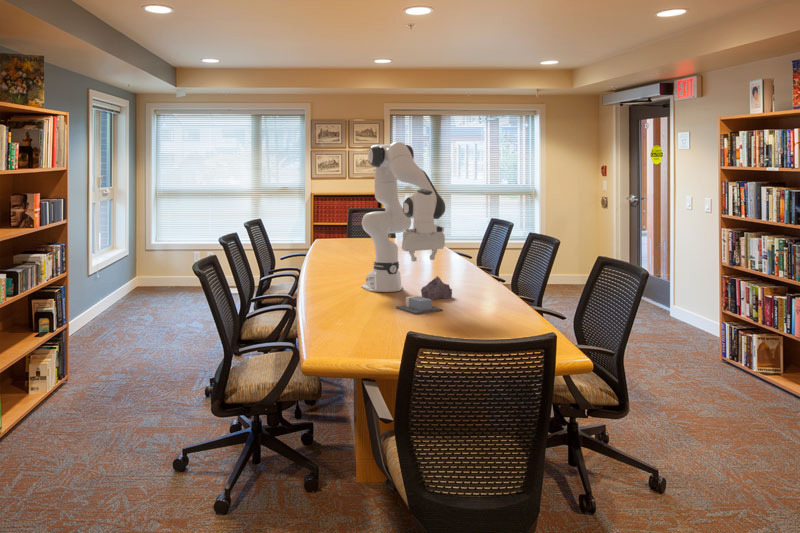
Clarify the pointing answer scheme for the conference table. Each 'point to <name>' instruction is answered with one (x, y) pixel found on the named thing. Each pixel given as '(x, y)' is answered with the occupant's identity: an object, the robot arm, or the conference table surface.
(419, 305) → the block
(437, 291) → the stone
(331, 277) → the conference table surface
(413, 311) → the mat
